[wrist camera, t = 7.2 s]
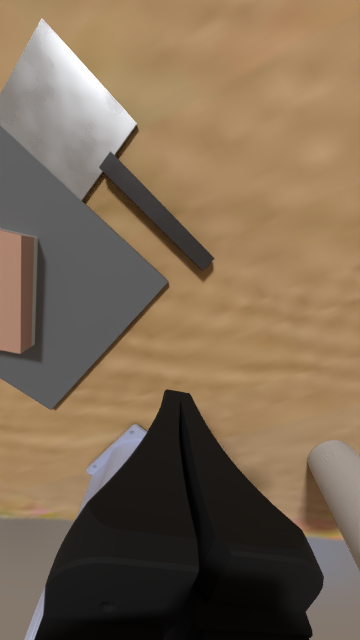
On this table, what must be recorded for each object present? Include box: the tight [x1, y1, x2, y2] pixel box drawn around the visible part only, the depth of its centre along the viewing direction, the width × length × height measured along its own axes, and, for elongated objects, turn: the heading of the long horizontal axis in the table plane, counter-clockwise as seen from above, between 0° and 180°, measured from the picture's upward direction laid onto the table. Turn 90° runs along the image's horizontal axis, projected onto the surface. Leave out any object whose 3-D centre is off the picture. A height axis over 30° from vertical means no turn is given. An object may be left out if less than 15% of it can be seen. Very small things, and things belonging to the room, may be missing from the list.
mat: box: [0, 126, 168, 410], centre depth 19 cm, size 19×18×1 cm
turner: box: [0, 19, 214, 271], centre depth 16 cm, size 19×7×1 cm, turn 47°
